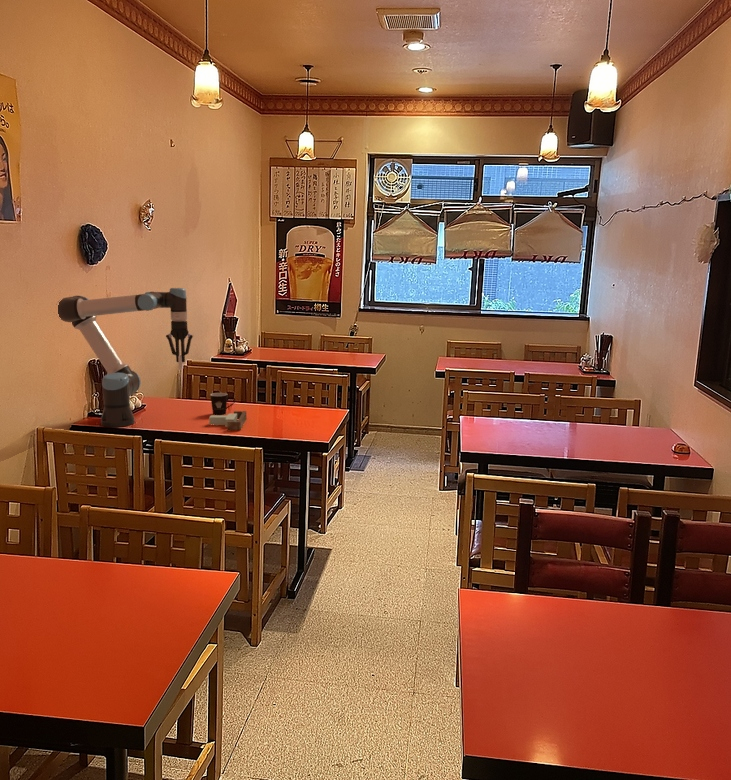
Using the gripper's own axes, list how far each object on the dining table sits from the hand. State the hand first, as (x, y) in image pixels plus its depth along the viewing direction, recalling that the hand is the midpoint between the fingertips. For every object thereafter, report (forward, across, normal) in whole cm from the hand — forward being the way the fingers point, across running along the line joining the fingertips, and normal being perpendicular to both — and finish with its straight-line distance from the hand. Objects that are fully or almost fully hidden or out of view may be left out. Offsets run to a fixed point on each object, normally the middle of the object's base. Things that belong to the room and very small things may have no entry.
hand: (180, 368), depth 339 cm
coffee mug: (+25, +18, +8) cm, 32 cm away
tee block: (+25, +22, -14) cm, 35 cm away
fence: (+24, +28, -14) cm, 40 cm away
